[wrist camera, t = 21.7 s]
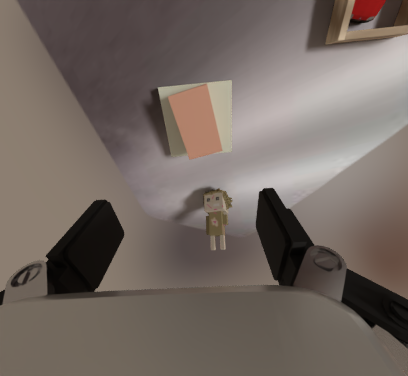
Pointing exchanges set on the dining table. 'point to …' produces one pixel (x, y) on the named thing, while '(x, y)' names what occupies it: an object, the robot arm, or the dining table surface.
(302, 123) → the dining table surface
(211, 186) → the dining table surface
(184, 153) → the plate
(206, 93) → the brick
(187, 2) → the dining table surface
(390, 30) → the car corral
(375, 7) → the toy car
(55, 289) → the robot arm
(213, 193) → the toy
